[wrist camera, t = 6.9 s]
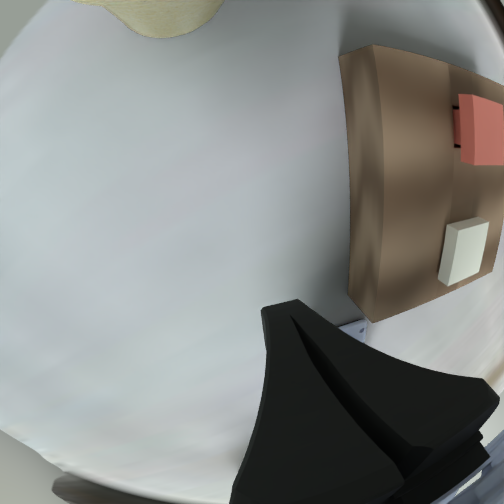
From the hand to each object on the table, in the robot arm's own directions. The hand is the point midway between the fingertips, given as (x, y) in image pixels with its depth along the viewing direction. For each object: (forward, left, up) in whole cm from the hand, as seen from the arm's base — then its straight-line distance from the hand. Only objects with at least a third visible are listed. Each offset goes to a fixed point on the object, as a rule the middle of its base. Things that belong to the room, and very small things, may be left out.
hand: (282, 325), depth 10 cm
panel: (+2, -16, -9) cm, 19 cm away
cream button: (-2, -16, -9) cm, 19 cm away
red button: (+7, -16, -8) cm, 19 cm away
